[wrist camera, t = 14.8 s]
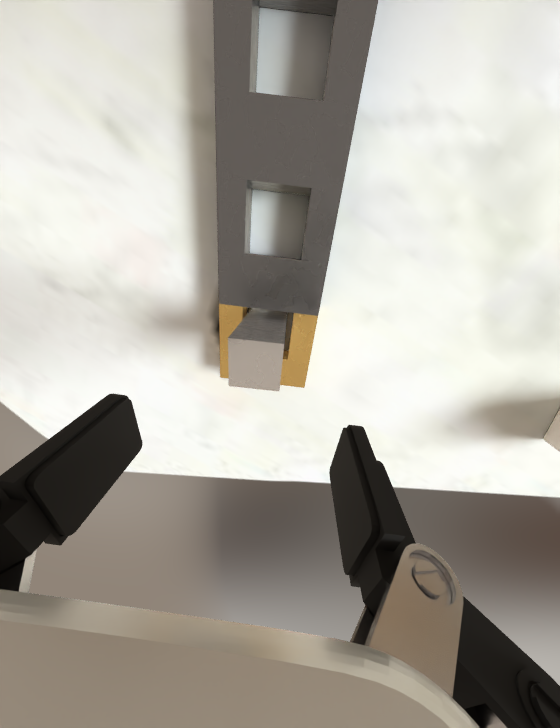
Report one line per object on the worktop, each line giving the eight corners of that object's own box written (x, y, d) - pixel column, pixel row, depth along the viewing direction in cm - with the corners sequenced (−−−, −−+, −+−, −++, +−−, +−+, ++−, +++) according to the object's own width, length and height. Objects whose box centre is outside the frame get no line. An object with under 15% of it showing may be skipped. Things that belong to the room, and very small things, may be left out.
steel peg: (252, 307, 24) (227, 338, 15) (287, 311, 24) (284, 343, 15) (251, 341, 26) (228, 385, 17) (284, 344, 26) (279, 391, 17)
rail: (224, -89, 13) (210, -159, 11) (385, -69, 13) (403, -135, 11) (226, 367, 28) (220, 377, 25) (303, 377, 28) (304, 387, 25)
